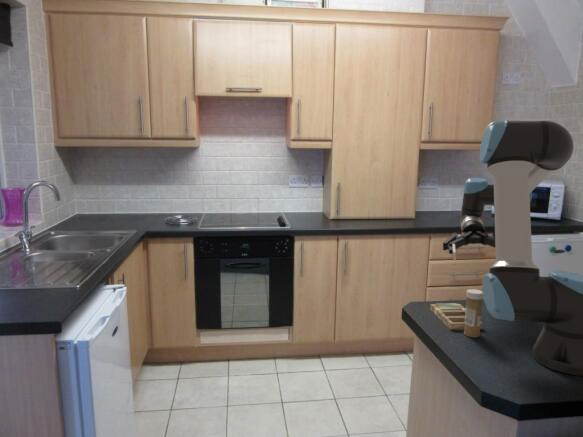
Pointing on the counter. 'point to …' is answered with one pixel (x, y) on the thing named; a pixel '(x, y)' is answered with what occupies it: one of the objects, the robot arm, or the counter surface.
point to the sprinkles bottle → (473, 312)
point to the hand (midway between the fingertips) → (478, 256)
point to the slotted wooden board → (451, 315)
